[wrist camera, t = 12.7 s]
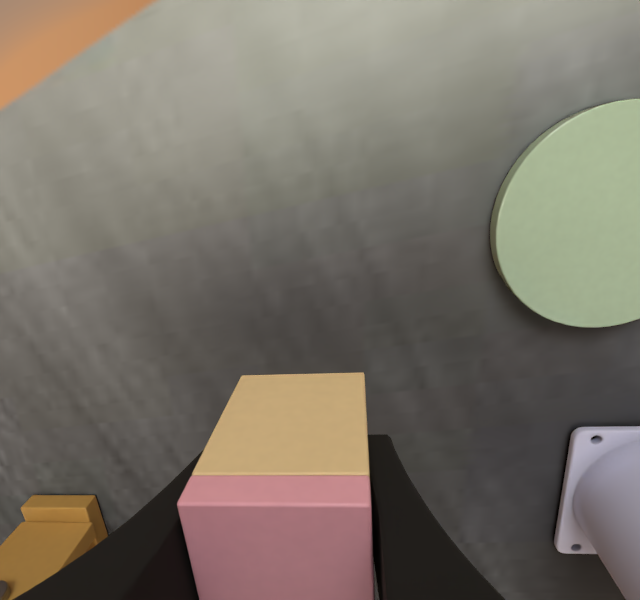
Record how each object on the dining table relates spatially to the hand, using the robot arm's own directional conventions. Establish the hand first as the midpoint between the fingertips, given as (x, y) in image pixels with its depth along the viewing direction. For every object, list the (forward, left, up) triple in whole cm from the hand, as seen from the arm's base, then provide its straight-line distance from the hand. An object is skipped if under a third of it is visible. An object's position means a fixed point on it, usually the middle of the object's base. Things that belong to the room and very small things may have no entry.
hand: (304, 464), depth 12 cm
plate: (-12, -5, -8) cm, 15 cm away
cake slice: (0, 0, -2) cm, 2 cm away
